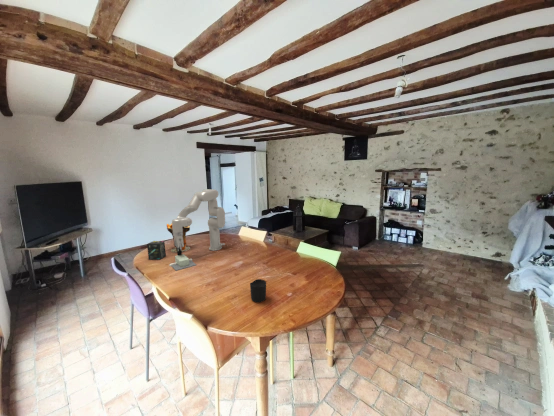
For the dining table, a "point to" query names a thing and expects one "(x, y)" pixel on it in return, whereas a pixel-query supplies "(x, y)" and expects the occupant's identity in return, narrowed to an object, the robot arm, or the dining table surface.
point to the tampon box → (156, 250)
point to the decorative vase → (185, 229)
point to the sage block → (182, 260)
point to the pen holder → (258, 290)
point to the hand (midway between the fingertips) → (179, 254)
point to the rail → (176, 263)
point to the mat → (183, 266)
